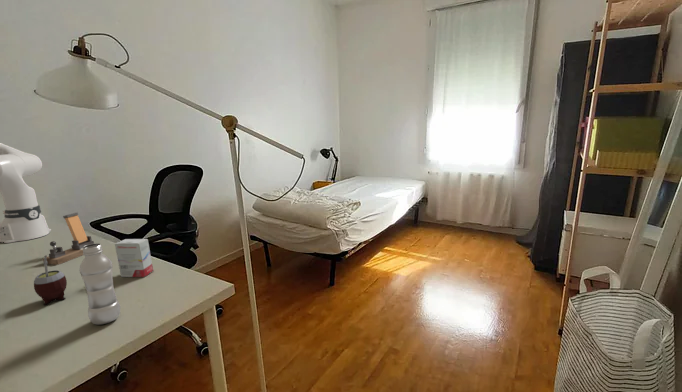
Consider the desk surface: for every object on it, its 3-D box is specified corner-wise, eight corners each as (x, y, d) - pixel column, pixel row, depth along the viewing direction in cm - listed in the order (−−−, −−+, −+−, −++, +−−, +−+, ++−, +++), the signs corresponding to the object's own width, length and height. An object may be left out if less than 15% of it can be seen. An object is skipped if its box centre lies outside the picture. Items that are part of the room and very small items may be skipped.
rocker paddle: (74, 244, 133) (62, 216, 131) (85, 240, 137) (73, 213, 135) (78, 243, 132) (66, 215, 130) (88, 239, 136) (77, 212, 134)
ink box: (154, 271, 114) (148, 238, 111) (144, 277, 109) (138, 243, 106) (130, 270, 114) (125, 238, 112) (120, 277, 110) (113, 243, 107)
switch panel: (43, 263, 124) (40, 249, 123) (85, 248, 139) (82, 235, 138) (58, 264, 122) (55, 250, 121) (98, 249, 137) (95, 236, 136)
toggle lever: (51, 252, 124) (47, 242, 124) (56, 250, 126) (52, 241, 125) (55, 251, 124) (51, 241, 123) (60, 249, 125) (56, 240, 125)
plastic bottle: (100, 314, 87) (85, 242, 83) (127, 312, 88) (114, 240, 84) (84, 329, 81) (67, 251, 77) (113, 327, 81) (98, 249, 77)
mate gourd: (53, 294, 100) (42, 246, 97) (78, 293, 99) (68, 246, 96) (29, 307, 92) (17, 256, 89) (57, 306, 92) (45, 255, 89)
